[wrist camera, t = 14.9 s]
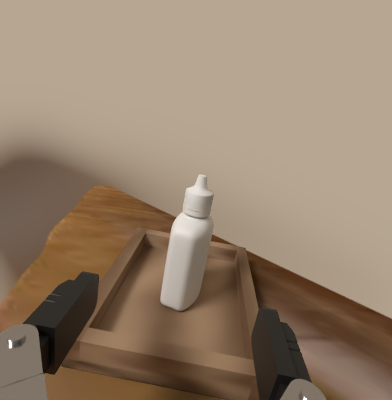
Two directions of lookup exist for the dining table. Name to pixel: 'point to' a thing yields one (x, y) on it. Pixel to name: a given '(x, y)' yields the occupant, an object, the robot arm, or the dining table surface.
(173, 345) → the walnut tray
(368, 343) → the dining table surface
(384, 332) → the dining table surface
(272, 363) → the robot arm
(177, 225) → the eye dropper bottle
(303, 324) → the dining table surface
